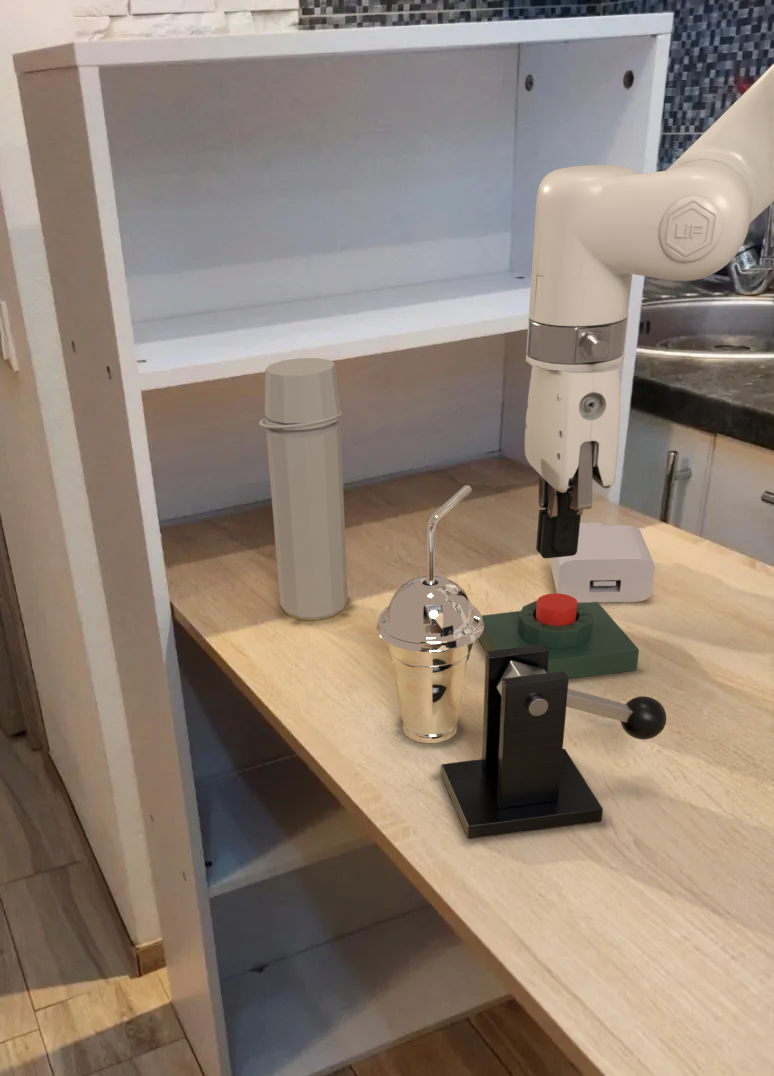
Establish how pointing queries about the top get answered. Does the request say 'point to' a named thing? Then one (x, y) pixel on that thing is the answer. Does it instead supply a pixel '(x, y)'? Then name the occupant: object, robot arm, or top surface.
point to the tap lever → (606, 706)
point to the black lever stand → (521, 755)
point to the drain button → (556, 609)
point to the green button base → (565, 640)
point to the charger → (606, 566)
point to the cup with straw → (430, 643)
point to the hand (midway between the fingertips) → (556, 553)
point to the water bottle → (307, 486)
